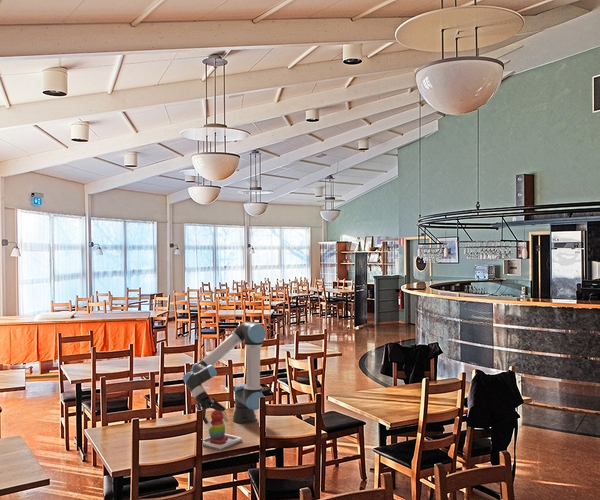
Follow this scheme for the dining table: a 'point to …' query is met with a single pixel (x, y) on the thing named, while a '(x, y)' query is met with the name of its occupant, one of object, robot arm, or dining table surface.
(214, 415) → the stacking bear
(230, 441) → the white square tray
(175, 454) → the dining table surface
